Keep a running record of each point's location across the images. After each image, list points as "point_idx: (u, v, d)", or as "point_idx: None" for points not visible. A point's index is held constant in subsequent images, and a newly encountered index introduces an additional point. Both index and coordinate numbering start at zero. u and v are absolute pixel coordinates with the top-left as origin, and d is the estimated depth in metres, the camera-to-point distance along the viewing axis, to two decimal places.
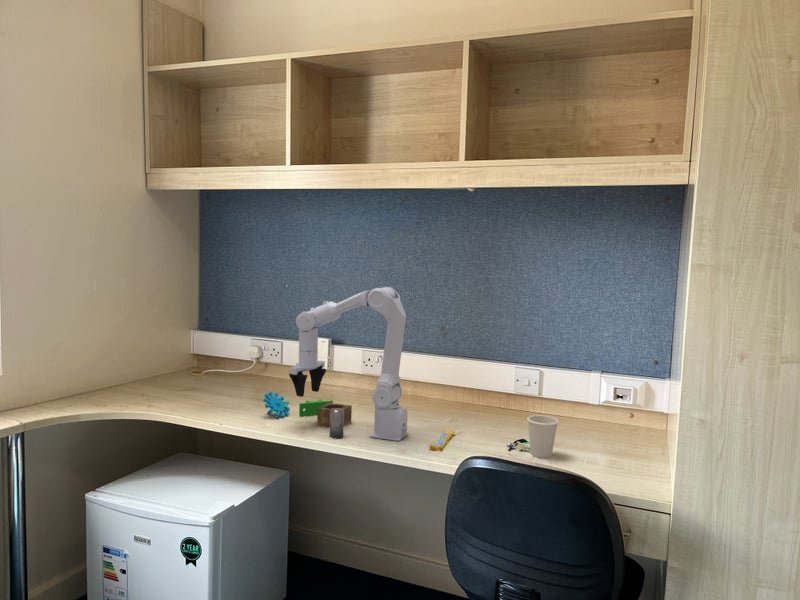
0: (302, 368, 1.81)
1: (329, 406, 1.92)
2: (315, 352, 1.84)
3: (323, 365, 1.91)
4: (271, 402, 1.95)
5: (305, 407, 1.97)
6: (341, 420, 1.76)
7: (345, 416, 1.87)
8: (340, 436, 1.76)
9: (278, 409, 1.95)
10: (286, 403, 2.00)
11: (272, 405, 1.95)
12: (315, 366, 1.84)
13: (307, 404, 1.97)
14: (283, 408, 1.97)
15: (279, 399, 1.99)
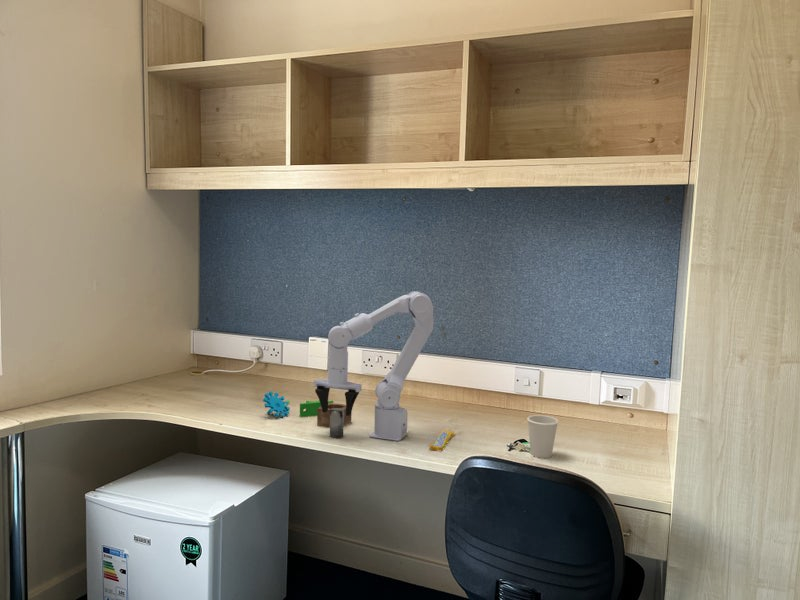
0: (320, 382, 1.76)
1: (329, 406, 1.92)
2: (333, 370, 1.73)
3: (356, 389, 1.73)
4: (271, 402, 1.95)
5: (305, 407, 1.97)
6: (341, 420, 1.76)
7: (345, 416, 1.87)
8: (340, 436, 1.76)
9: (278, 409, 1.95)
10: (286, 403, 2.00)
11: (272, 405, 1.95)
12: (332, 385, 1.73)
13: (307, 404, 1.97)
14: (283, 408, 1.97)
15: (279, 399, 1.99)
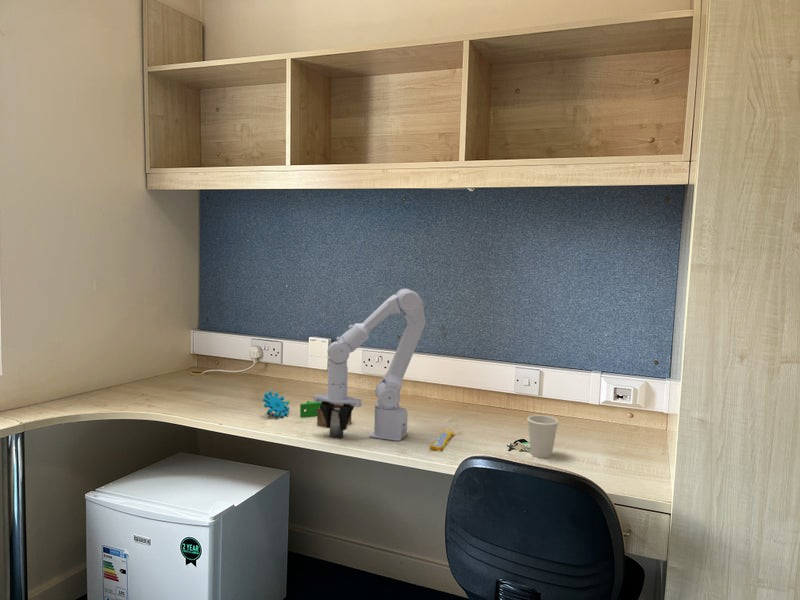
0: (320, 398, 1.77)
1: None
2: (333, 386, 1.74)
3: (356, 405, 1.74)
4: (270, 402, 1.95)
5: (306, 408, 1.96)
6: None
7: None
8: (340, 436, 1.76)
9: (277, 409, 1.95)
10: (286, 403, 2.00)
11: (271, 405, 1.95)
12: (332, 400, 1.74)
13: (308, 405, 1.97)
14: (283, 408, 1.97)
15: (279, 399, 1.99)
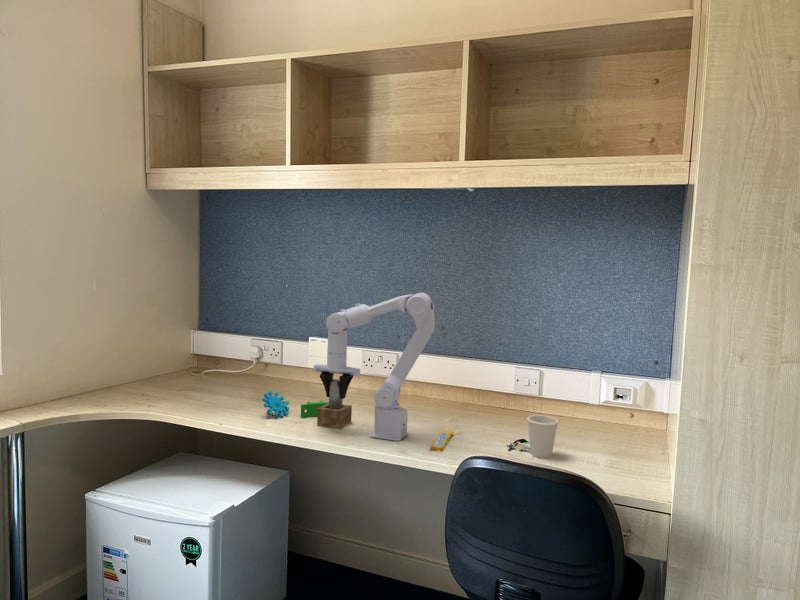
0: (320, 367, 1.81)
1: None
2: (332, 355, 1.78)
3: (355, 374, 1.78)
4: (270, 402, 1.96)
5: (306, 408, 1.96)
6: (340, 390, 1.80)
7: (345, 416, 1.87)
8: (339, 406, 1.80)
9: (277, 409, 1.95)
10: (286, 403, 2.00)
11: (271, 405, 1.95)
12: (331, 369, 1.78)
13: (308, 405, 1.96)
14: (282, 408, 1.97)
15: (279, 399, 1.99)
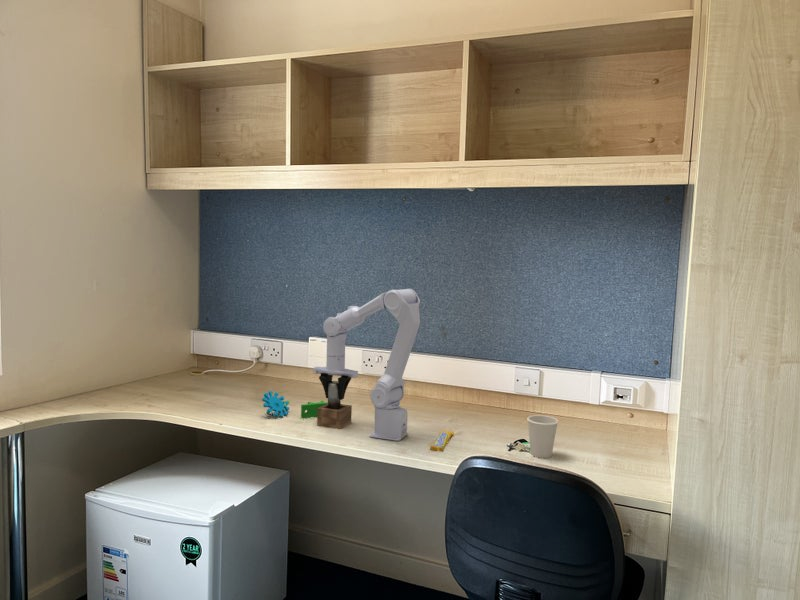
0: (319, 369, 1.89)
1: None
2: (331, 358, 1.85)
3: (353, 376, 1.85)
4: (270, 402, 1.96)
5: (307, 408, 1.96)
6: None
7: (345, 416, 1.87)
8: (338, 407, 1.88)
9: (277, 409, 1.96)
10: (286, 403, 2.00)
11: (271, 405, 1.95)
12: (330, 371, 1.86)
13: (309, 405, 1.96)
14: (282, 408, 1.97)
15: (278, 399, 1.99)
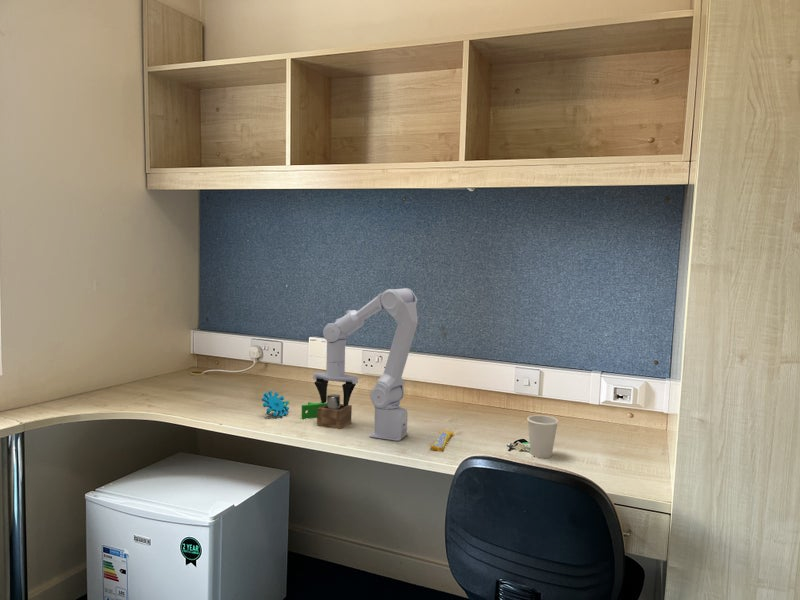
0: (319, 375, 1.89)
1: None
2: (331, 363, 1.86)
3: (353, 381, 1.85)
4: (270, 401, 1.96)
5: (307, 409, 1.95)
6: (338, 405, 1.88)
7: (345, 416, 1.87)
8: None
9: (276, 409, 1.96)
10: (285, 403, 2.00)
11: (270, 404, 1.95)
12: (330, 377, 1.86)
13: (309, 406, 1.95)
14: (282, 408, 1.98)
15: (278, 399, 1.99)
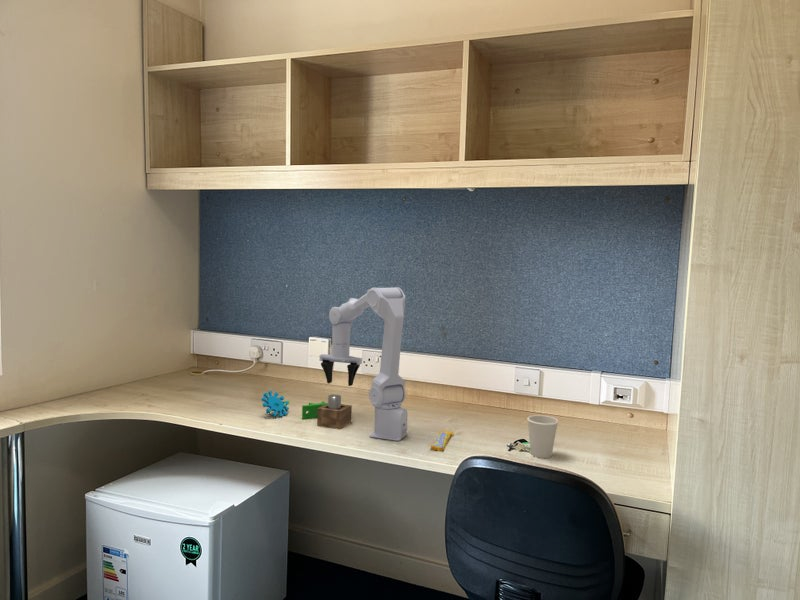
0: (325, 357, 1.99)
1: None
2: (336, 345, 1.96)
3: (357, 362, 1.96)
4: (269, 401, 1.96)
5: (308, 409, 1.94)
6: (339, 405, 1.88)
7: (345, 416, 1.87)
8: None
9: (276, 409, 1.96)
10: (285, 403, 2.00)
11: (270, 404, 1.95)
12: (336, 358, 1.96)
13: (310, 406, 1.95)
14: (281, 408, 1.98)
15: (278, 399, 2.00)
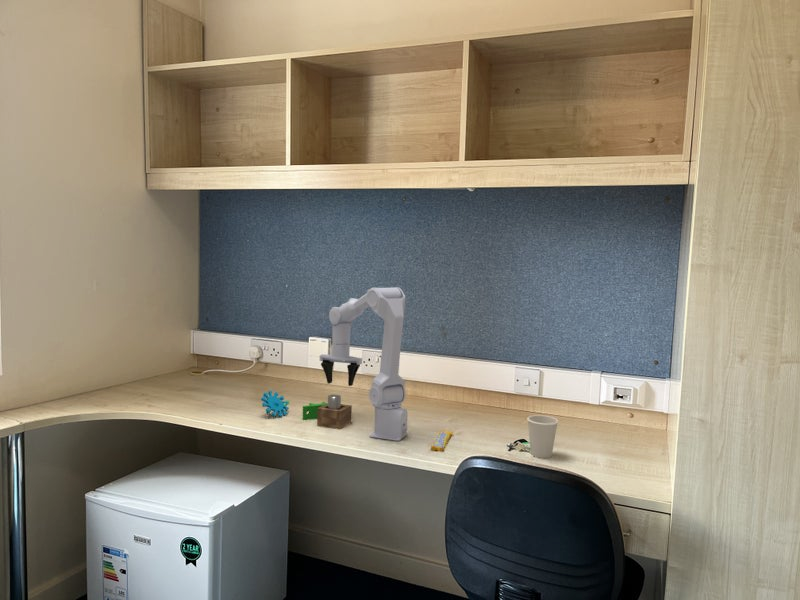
0: (325, 357, 1.99)
1: None
2: (336, 345, 1.96)
3: (357, 362, 1.96)
4: (269, 401, 1.96)
5: (308, 410, 1.94)
6: (339, 405, 1.88)
7: (345, 416, 1.87)
8: None
9: (276, 408, 1.96)
10: (285, 403, 2.00)
11: (270, 404, 1.95)
12: (336, 358, 1.96)
13: (310, 407, 1.94)
14: (281, 408, 1.98)
15: (278, 399, 2.00)
